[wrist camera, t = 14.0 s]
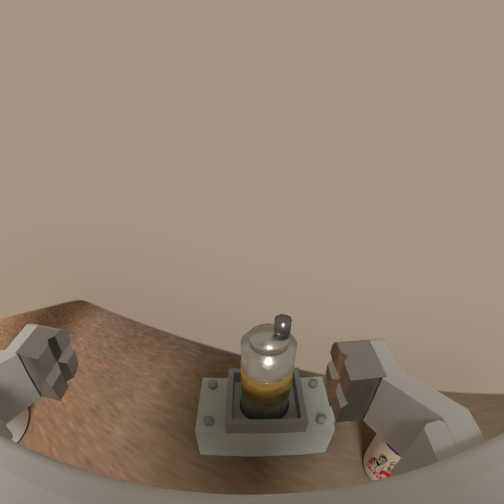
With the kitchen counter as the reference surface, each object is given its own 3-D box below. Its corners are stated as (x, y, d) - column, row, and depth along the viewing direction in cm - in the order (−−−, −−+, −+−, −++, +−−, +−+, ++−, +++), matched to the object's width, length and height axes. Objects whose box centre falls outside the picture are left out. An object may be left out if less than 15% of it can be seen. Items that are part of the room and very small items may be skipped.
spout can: (240, 421, 30) (239, 337, 25) (240, 386, 36) (240, 302, 31) (289, 420, 31) (305, 337, 26) (285, 386, 36) (296, 303, 31)
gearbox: (200, 454, 31) (192, 422, 28) (206, 404, 40) (201, 367, 36) (353, 448, 32) (371, 414, 29) (340, 400, 40) (352, 364, 37)
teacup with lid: (349, 477, 27) (380, 430, 23) (374, 428, 34) (402, 373, 30) (429, 502, 21) (480, 458, 17) (445, 450, 28) (485, 398, 23)
